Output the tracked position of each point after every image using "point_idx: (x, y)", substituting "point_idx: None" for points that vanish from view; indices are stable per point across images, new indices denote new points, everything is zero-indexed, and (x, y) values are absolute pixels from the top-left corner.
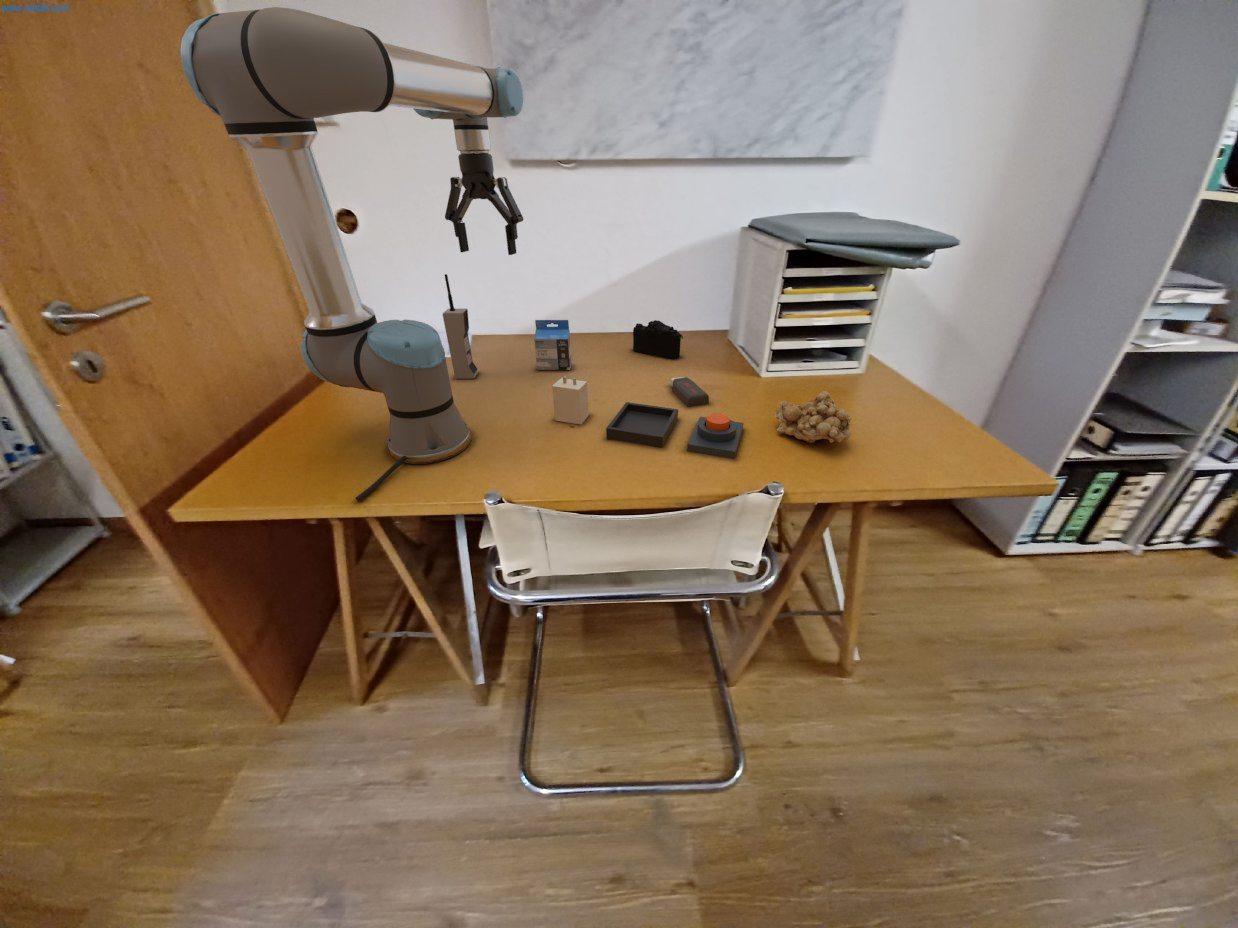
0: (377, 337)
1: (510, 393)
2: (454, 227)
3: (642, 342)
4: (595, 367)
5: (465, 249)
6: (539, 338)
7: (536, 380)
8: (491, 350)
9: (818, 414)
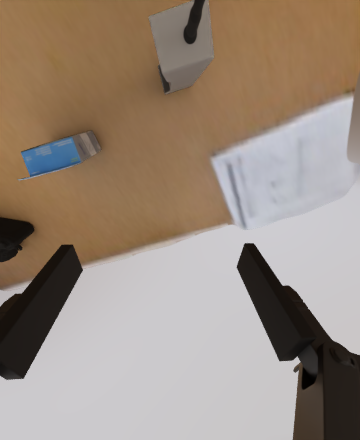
0: None
1: (67, 15)
2: (316, 322)
3: (4, 227)
4: None
5: (243, 259)
6: (64, 140)
7: (69, 92)
8: (190, 184)
9: None
